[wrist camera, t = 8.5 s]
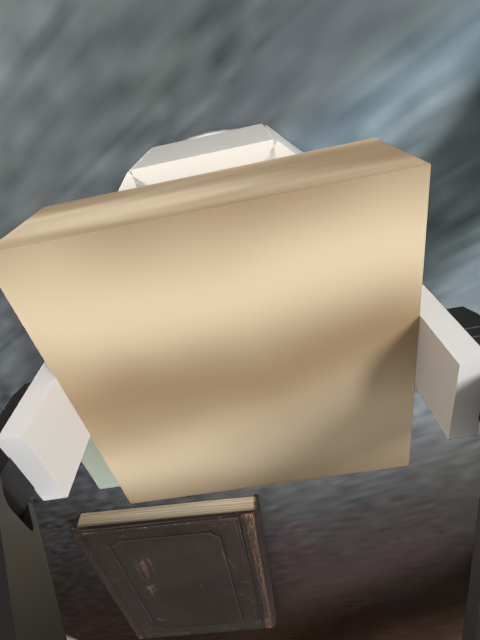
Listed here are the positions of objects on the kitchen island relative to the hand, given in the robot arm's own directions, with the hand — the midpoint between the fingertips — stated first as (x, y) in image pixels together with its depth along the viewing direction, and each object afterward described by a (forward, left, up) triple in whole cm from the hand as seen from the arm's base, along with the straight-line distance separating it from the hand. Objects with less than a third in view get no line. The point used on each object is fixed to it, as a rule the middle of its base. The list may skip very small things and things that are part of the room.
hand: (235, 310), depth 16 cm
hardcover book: (-33, +11, -7) cm, 36 cm away
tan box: (0, 0, 0) cm, 0 cm away
